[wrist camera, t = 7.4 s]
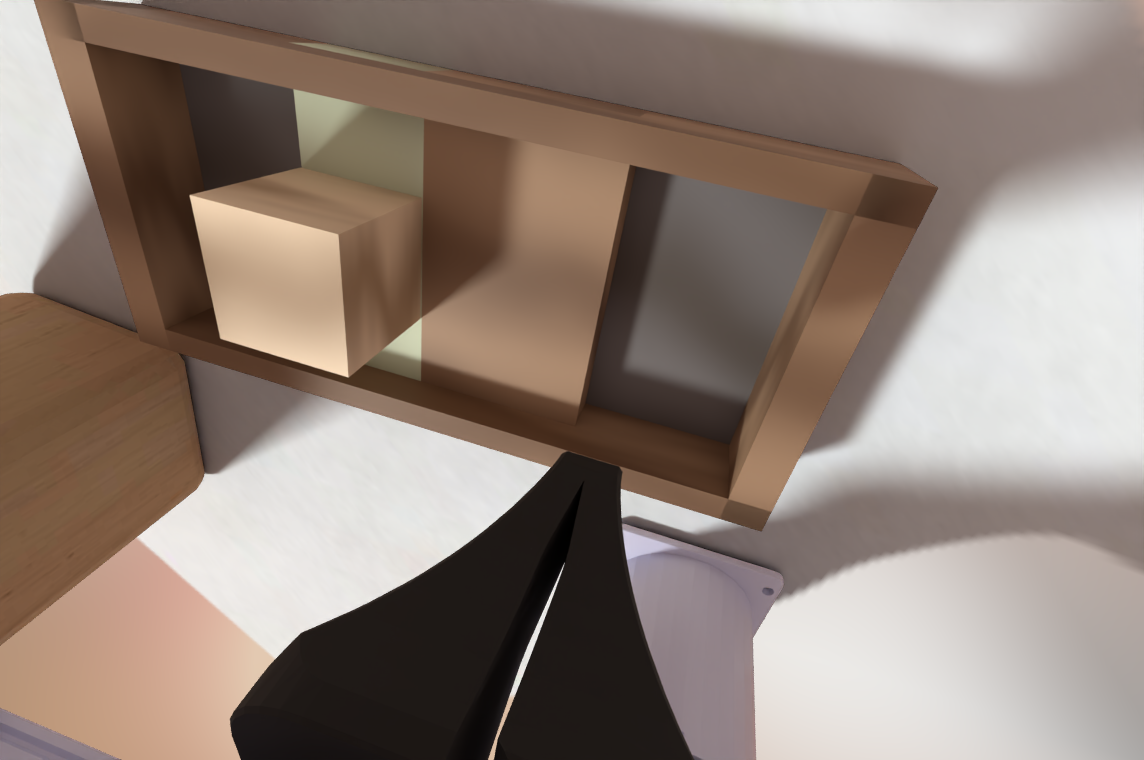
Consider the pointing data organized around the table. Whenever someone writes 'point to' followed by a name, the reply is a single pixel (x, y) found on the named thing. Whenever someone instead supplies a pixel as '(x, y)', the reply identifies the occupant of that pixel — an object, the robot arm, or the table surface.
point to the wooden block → (82, 448)
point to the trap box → (508, 245)
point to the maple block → (311, 266)
